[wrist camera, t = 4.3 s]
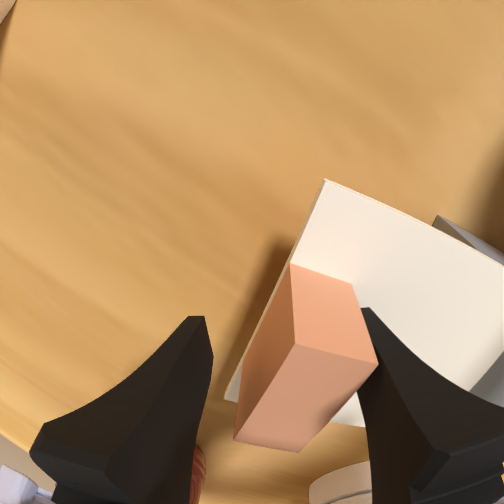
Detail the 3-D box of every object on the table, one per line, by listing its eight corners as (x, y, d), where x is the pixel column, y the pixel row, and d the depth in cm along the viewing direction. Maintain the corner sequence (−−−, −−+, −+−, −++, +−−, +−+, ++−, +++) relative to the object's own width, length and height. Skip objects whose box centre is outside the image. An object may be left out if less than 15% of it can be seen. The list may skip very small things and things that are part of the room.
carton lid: (539, 287, 11) (586, 341, 7) (424, 426, 16) (441, 483, 12) (323, 177, 10) (355, 232, 6) (225, 391, 15) (212, 469, 11)
